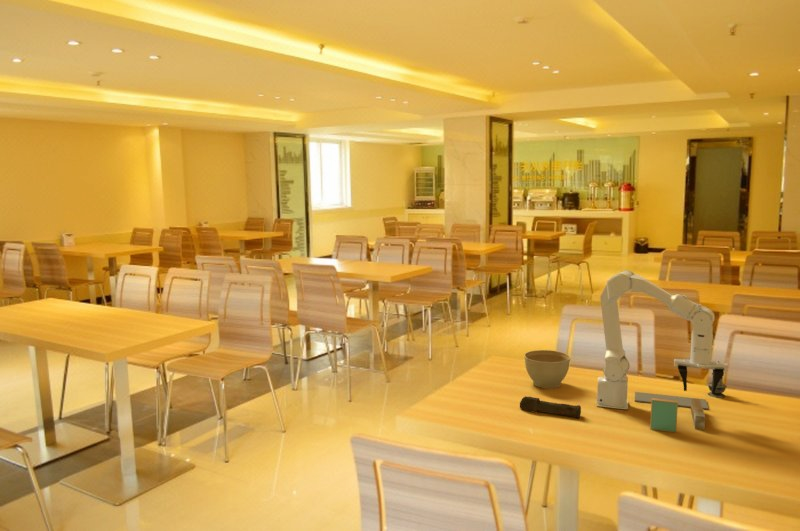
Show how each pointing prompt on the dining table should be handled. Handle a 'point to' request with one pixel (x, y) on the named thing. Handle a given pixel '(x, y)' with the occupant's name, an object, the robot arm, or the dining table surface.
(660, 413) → the tile
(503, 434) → the dining table surface
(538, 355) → the planter bowl
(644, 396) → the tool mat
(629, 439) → the dining table surface
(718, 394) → the salt shaker
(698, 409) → the two-tone flat stick
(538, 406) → the hand tool
